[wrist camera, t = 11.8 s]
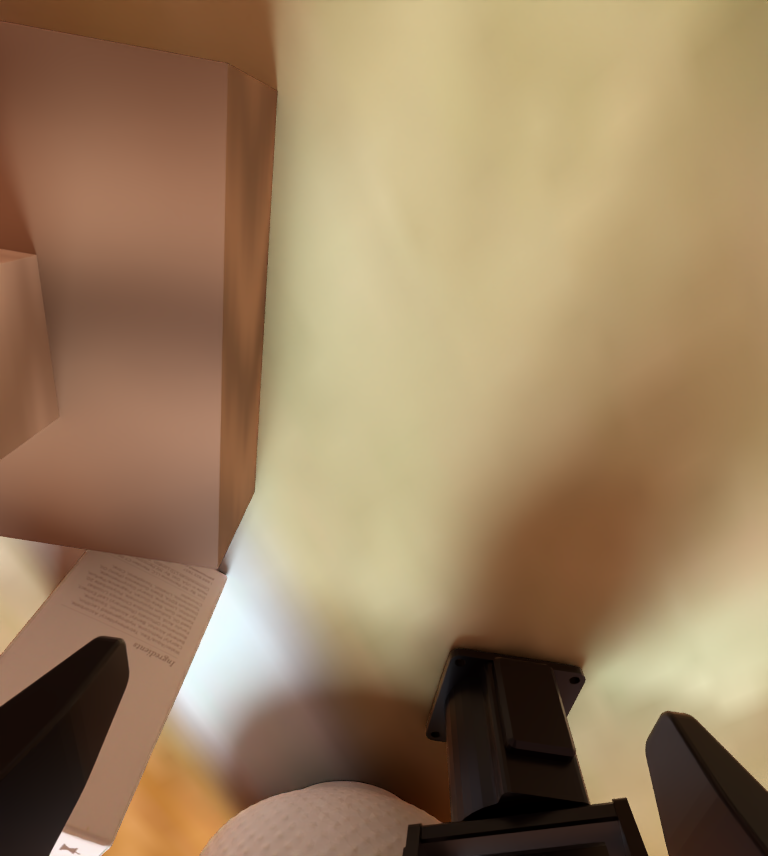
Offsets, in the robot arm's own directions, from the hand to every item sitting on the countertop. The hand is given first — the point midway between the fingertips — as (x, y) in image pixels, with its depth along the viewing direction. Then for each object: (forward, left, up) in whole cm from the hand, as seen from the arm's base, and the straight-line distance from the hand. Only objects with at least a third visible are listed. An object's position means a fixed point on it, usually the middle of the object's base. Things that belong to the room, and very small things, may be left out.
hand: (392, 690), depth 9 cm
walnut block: (+2, +12, -12) cm, 17 cm away
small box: (-12, +10, -12) cm, 20 cm away
